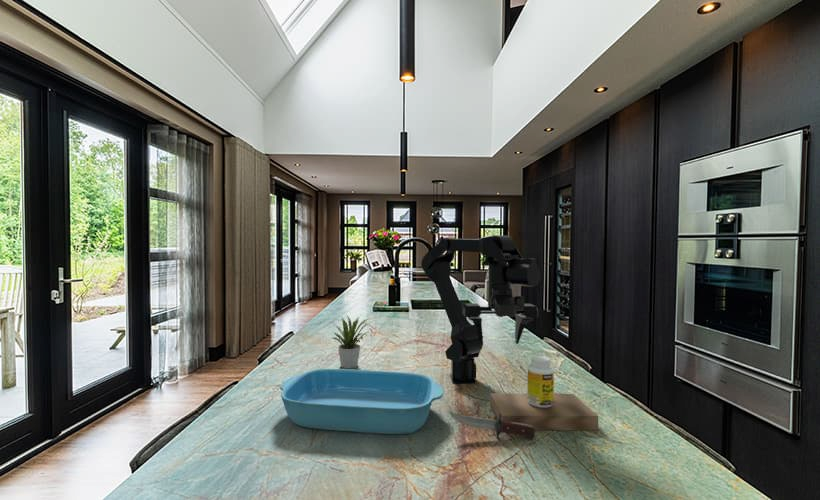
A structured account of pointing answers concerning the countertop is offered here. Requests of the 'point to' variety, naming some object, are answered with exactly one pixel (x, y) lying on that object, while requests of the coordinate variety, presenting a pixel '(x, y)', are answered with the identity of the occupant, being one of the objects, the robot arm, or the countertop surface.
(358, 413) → the casserole dish
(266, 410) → the countertop surface
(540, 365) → the supplement bottle
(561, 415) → the walnut stand
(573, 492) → the countertop surface
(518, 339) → the robot arm
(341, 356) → the house plant
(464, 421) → the knife
